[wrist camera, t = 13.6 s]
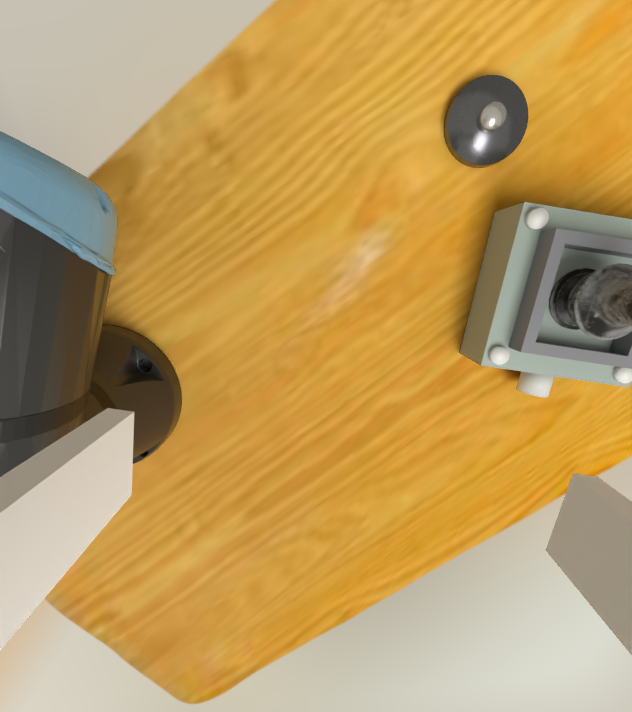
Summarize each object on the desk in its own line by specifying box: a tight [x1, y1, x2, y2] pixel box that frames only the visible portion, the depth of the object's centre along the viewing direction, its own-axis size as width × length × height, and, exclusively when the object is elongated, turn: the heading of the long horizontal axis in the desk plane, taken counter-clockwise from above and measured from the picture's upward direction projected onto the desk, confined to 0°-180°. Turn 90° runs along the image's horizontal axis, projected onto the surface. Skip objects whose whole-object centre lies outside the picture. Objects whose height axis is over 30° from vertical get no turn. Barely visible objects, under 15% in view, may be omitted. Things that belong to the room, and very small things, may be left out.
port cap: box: [444, 75, 528, 168], centre depth 31 cm, size 7×7×2 cm
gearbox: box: [460, 202, 632, 397], centre depth 32 cm, size 14×16×7 cm
